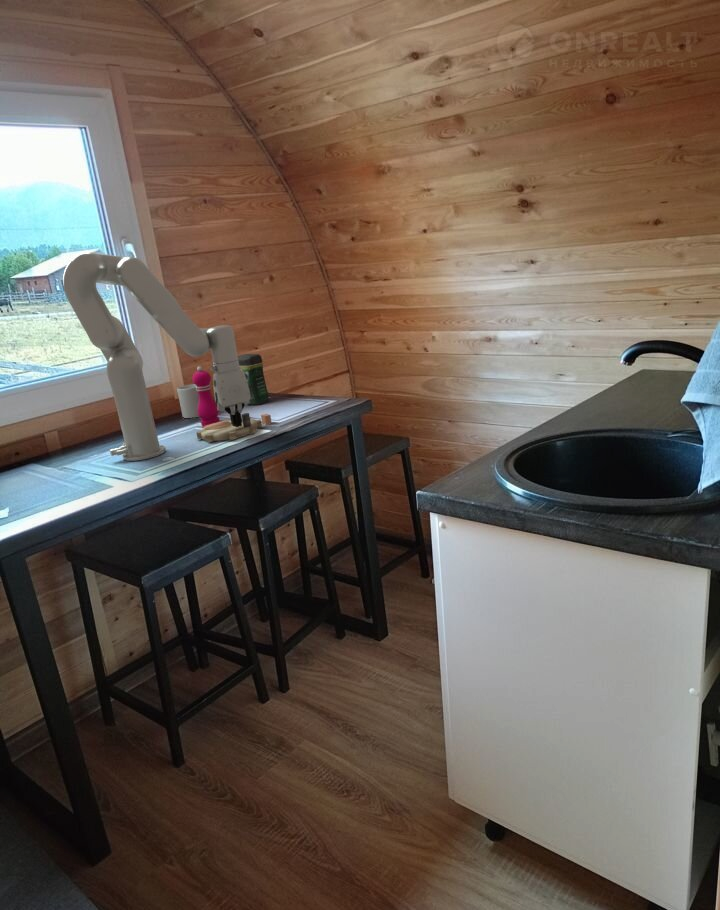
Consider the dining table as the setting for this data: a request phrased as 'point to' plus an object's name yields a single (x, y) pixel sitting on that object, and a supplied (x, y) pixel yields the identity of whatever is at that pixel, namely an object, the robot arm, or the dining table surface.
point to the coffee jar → (254, 377)
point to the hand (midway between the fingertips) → (237, 425)
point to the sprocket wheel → (229, 429)
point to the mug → (188, 400)
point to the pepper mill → (205, 398)
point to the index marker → (266, 419)
